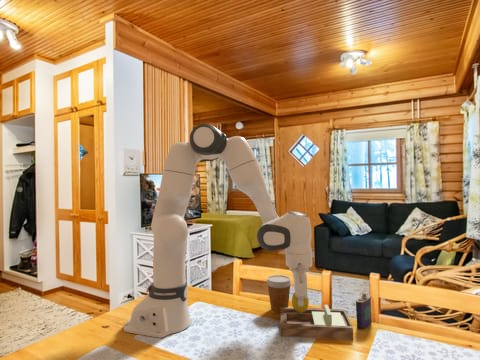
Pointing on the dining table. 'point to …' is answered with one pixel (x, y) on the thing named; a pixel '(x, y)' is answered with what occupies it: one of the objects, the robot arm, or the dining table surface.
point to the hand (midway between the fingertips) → (300, 301)
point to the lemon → (299, 308)
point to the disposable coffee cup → (278, 292)
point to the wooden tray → (304, 325)
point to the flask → (363, 311)
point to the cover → (328, 317)
